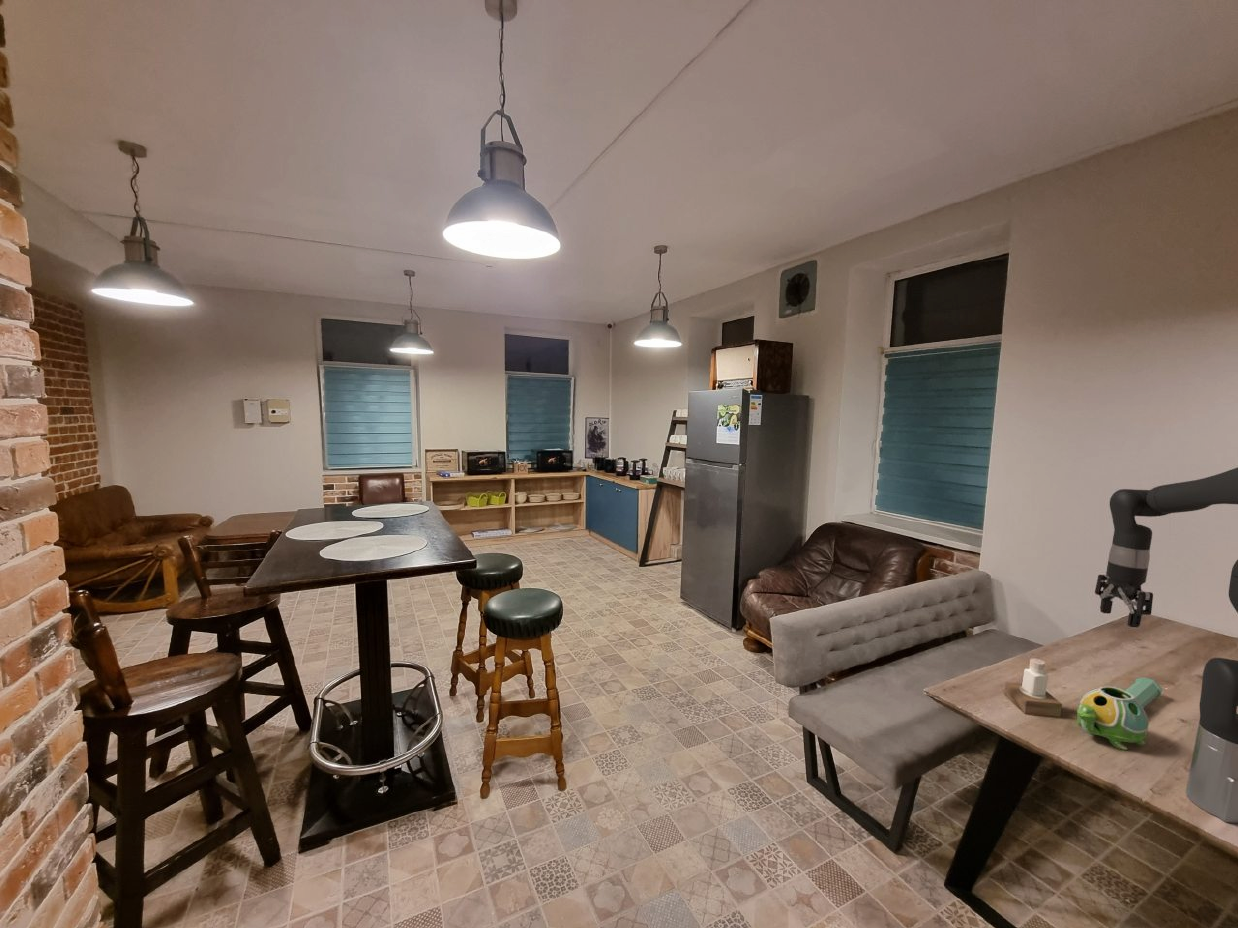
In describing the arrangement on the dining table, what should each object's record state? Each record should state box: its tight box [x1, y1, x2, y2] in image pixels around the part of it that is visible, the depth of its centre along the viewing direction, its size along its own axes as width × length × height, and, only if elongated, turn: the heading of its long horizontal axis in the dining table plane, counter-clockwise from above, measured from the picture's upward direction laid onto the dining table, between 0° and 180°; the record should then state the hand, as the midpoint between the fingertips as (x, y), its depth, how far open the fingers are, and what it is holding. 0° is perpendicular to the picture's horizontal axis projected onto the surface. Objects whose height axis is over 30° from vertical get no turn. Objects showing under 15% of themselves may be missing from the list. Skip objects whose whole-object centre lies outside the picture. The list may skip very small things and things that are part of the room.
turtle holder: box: [1076, 686, 1149, 751], centre depth 128 cm, size 12×18×12 cm
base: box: [1003, 681, 1063, 718], centre depth 141 cm, size 9×9×4 cm
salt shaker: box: [1021, 657, 1049, 696], centre depth 140 cm, size 4×4×10 cm
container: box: [1122, 676, 1163, 709], centre depth 141 cm, size 6×6×25 cm
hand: (1118, 619), depth 134 cm, fingers open, 8 cm apart
